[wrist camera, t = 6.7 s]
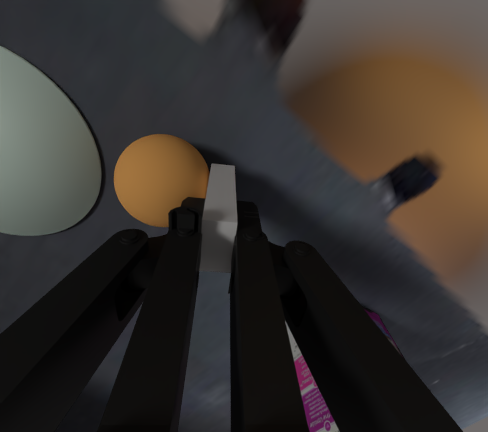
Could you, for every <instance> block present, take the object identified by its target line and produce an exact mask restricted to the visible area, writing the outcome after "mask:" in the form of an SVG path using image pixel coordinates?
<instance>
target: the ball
mask: <svg viewBox="0 0 488 432" xmlns="http://www.w3.org/2000/svg"><path fill="white" fill-rule="evenodd" d="M209 175H210V173H209V169H208V166H207V164H206V162H205V160H204V158H203V157H202V155H201V154H200V153H199V151H198V150H197V149H196V148H195V147H193V146H192V145H191V144H190V143H188V142H187V141H185V140H183V139H181V138H178V137H175V136H172V135H166V134H155V135H149V136H145V137H143V138H140V139H138V140H136V141H135V142H133V143H132V144H130V145H129V146H128V147H127V148H126V149H125V150H124V151H123V153H122V154H121V156H120V157H119V159H118V162H117V164H116V167H115V172H114V185H115V190H116V193H117V196H118V199H119V201H120V202H121V204H122V205H123V207H124V208H125V209H126V210H127V212H129V213H130V214H131V215H132V216H133V217H135V218H136V219H137V220H139V221H141V222H143V223H146V224H148V225H152V226H157V227H169V224H168V213H169V212H170V210H172V209H174V208H176V207H181V203H182V201H183V200H184V199H186V198H187V197H195V198H206V193H207V187H208V181H209Z"/></svg>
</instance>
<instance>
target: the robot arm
mask: <svg viewBox="0 0 488 432" xmlns="http://www.w3.org/2000/svg"><path fill="white" fill-rule="evenodd" d="M168 224H169V231H168V233H167V234H165V235H163V236H159V237H152V238H148V235H147V234H146V233H145V232H144V231H142V230H139V229H126V230H122V231H119V232H117V233H116V234H114V235H113V236H112V237H111V238H109V239H108V240H107V241H106V242H105V243H104V244H103V245H101V246H100V247H99V248H98V249H97V250H96V251H95V252H93V253H92V254H91V255H90V256H89V257H88V258H87V259H86V260H84V261H83V262H82V263H81V264H80V265H79V266H78V267H76V268H75V269H74V270H73V271H72V272H71V273H70V274H68V275H67V276H66V277H65V278H64V279H63V280H62V281H60V282H59V283H58V284H57V285H56V286H55V287H54V288H52V289H51V290H50V291H49V292H48V293H47V294H46V295H45V296H43V297H42V298H41V299H40V300H39V301H38V302H37V303H35V304H34V305H33V306H32V307H31V308H30V309H29V310H27V311H26V312H25V313H24V314H23V315H22V316H21V317H19V318H18V319H17V320H16V321H15V322H14V323H13V324H12V325H10V326H9V327H8V328H7V329H6V330H5V331H4V332H2V333H1V334H0V432H54V431H55V430H56V429H57V427H58V426H59V424H60V423H61V421H62V420H63V418H64V417H65V415H66V414H67V412H68V411H69V409H70V408H71V407H72V405H73V404H74V402H75V401H76V399H77V398H78V396H79V395H80V393H81V392H82V390H83V389H84V387H85V386H86V385H87V383H88V382H89V380H90V379H91V377H92V376H93V374H94V373H95V371H96V370H97V368H98V367H99V365H100V364H101V363H102V361H103V360H104V358H105V357H106V355H107V354H108V352H109V351H110V349H111V348H112V346H113V345H114V343H115V342H116V341H117V339H118V338H119V336H120V335H121V333H122V332H123V330H124V329H125V327H126V326H127V324H128V323H129V322H130V320H131V319H132V317H133V316H134V314H135V313H136V311H137V310H138V308H139V307H140V305H141V304H142V302H143V304H142V307H141V310H140V313H139V316H138V318H137V321H136V324H135V327H134V330H133V333H132V335H131V338H130V341H129V344H128V347H127V350H126V352H125V355H124V358H123V361H122V364H121V367H120V369H119V372H118V375H117V378H116V381H115V384H114V386H113V389H112V392H111V395H110V398H109V401H108V403H107V406H106V409H105V412H104V415H103V418H102V420H101V423H100V426H99V428H98V431H97V432H178V425H179V418H180V411H181V404H182V396H183V389H184V382H185V375H186V367H187V360H188V353H189V346H190V338H191V331H192V324H193V317H194V309H195V302H196V295H197V288H198V281H199V271H210V272H226V273H231V278H230V285H229V292H228V293H230V365H231V432H310V431H309V427H308V423H307V418H306V414H305V409H304V405H303V400H302V395H301V391H300V386H299V382H298V377H297V372H296V368H295V363H294V358H293V354H292V349H291V345H290V340H289V335H288V331H287V326H286V323H287V325H288V327H289V329H290V331H291V333H292V335H293V337H294V339H295V341H296V344H297V346H298V348H299V350H300V352H301V354H302V356H303V358H304V360H305V362H306V364H307V366H308V368H309V370H310V372H311V374H312V376H313V378H314V380H315V383H316V385H317V387H318V389H319V391H320V393H321V395H322V397H323V399H324V401H325V403H326V405H327V407H328V409H329V411H330V413H331V415H332V417H333V419H334V421H335V424H336V426H337V428H338V430H339V432H463V431H462V430H461V428H460V427H459V426H458V425H457V424H456V422H455V421H454V420H453V419H452V417H451V416H450V415H449V414H448V412H447V411H446V410H445V409H444V407H443V406H442V405H441V404H440V403H439V401H438V400H437V399H436V398H435V396H434V395H433V394H432V393H431V391H430V390H429V389H428V388H427V386H426V385H425V384H424V383H423V382H422V380H421V379H420V378H419V377H418V375H417V374H416V373H415V372H414V370H413V369H412V368H411V367H410V365H409V364H408V363H407V362H406V361H405V359H404V358H403V357H402V356H401V354H400V353H399V352H398V351H397V349H396V348H395V347H394V346H393V344H392V343H391V342H390V341H389V340H388V338H387V337H386V336H385V335H384V333H383V332H382V331H381V330H380V328H379V327H378V326H377V325H376V323H375V322H374V321H373V320H372V319H371V317H370V316H369V315H368V314H367V312H366V311H365V310H364V309H363V307H362V306H361V305H360V304H359V302H358V301H357V300H356V299H355V298H354V296H353V295H352V294H351V293H350V291H349V290H348V289H347V288H346V286H345V285H344V284H343V283H342V281H341V280H340V279H339V278H338V277H337V275H336V274H335V273H334V272H333V270H332V269H331V268H330V267H329V265H328V264H327V263H326V262H325V260H324V259H323V258H322V257H321V256H320V254H319V253H318V252H317V251H316V249H315V248H314V247H312V246H311V245H309V244H307V243H305V242H302V241H291V242H288V243H287V244H286V247H282V246H278V245H275V244H273V243H271V242H269V241H268V239H267V236H266V234H264V233H263V232H262V229H261V223H260V218H259V214H258V208H257V206H256V205H255V204H254V203H253V202H246V201H236V184H235V166H231V165H222V164H213V163H212V164H211V169H210V175H209V181H208V187H207V193H206V198H195V197H187V198H186V199H184V200H183V201H182V203H181V207H176V208H174V209H172V210H170V212H169V213H168ZM285 321H286V322H285Z"/></svg>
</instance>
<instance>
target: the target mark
mask: <svg viewBox="0 0 488 432" xmlns="http://www.w3.org/2000/svg"><path fill="white" fill-rule="evenodd" d="M101 178H102V170H101V161H100V156H99V152H98V148H97V145H96V143H95V140H94V137H93V135H92V133H91V131H90V129H89V127H88V125H87V123H86V121H85V120H84V118H83V117H82V115H81V114H80V112H79V111H78V109H77V108H76V107H75V105H74V104H73V103H72V102H71V100H70V99H69V98H68V96H67V95H66V94H65V93H64V92H63V91H62V90H61V89H60V88H59V87H58V86H57V85H56V84H55V83H54V82H53V81H52V80H51V79H50V78H48V77H47V76H46V75H45V74H44V73H43V72H42V71H40V70H39V69H38V68H36V67H35V66H34V65H32V64H31V63H29V62H28V61H27V60H25V59H24V58H22V57H20V56H19V55H17V54H15V53H14V52H12V51H10V50H8V49H7V48H5V47H3V46H0V232H1V233H6V234H12V235H21V236H38V235H47V234H52V233H56V232H59V231H62V230H65V229H67V228H69V227H71V226H73V225H75V224H76V223H77V222H79V221H80V220H81V219H83V218H84V216H85V215H86V214H87V213H88V212H89V211H90V210H91V208H92V207H93V205H94V204H95V202H96V199H97V197H98V195H99V191H100V187H101Z"/></svg>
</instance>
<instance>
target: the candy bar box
mask: <svg viewBox="0 0 488 432" xmlns="http://www.w3.org/2000/svg"><path fill="white" fill-rule="evenodd" d="M362 307H363V306H362ZM363 309H364V310H365V311H366V312H367V314H368V315H369V316H370V317H371V319H372V320H373V321H374V322H375V323H376V325H377V326H378V327H379V328H380V330H381V331H382V332H383V333H384V335H385V336H386V337H387V338H388V340H389V341H390V342H391V343H392V344H393V346H394V347H395V348H396V349H397V351H398V352H399V353H400V354H401V356H402V357H403V355H402V353H401V352H400V350H399V348H398V347H397V345H396V343H395V342H394V340H393V338H392V337H391V335H390V333H389V332H388V330H387V329H386V327H385V325H384V323H383V322H382V320H381V318H380V317H379V315H378V314H376V313H374V312H372V311H370V310H368V309H366V308H365V307H363ZM285 322H286V321H285ZM286 326H287V331H288V335H289V340H290V345H291V349H292V354H293V358H294V363H295V368H296V372H297V377H298V382H299V386H300V391H301V395H302V400H303V405H304V409H305V414H306V418H307V423H308V427H309V431H310V432H339V430H338V428H337V426H336V424H335V421H334V419H333V417H332V415H331V413H330V411H329V409H328V407H327V405H326V403H325V401H324V399H323V397H322V395H321V393H320V391H319V389H318V387H317V385H316V383H315V380H314V378H313V376H312V374H311V372H310V370H309V368H308V366H307V364H306V362H305V360H304V358H303V356H302V354H301V352H300V350H299V348H298V346H297V344H296V341H295V339H294V337H293V335H292V333H291V331H290V329H289V327H288V325H287V323H286ZM403 358H404V357H403ZM404 359H405V358H404ZM405 361H406V360H405Z"/></svg>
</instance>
